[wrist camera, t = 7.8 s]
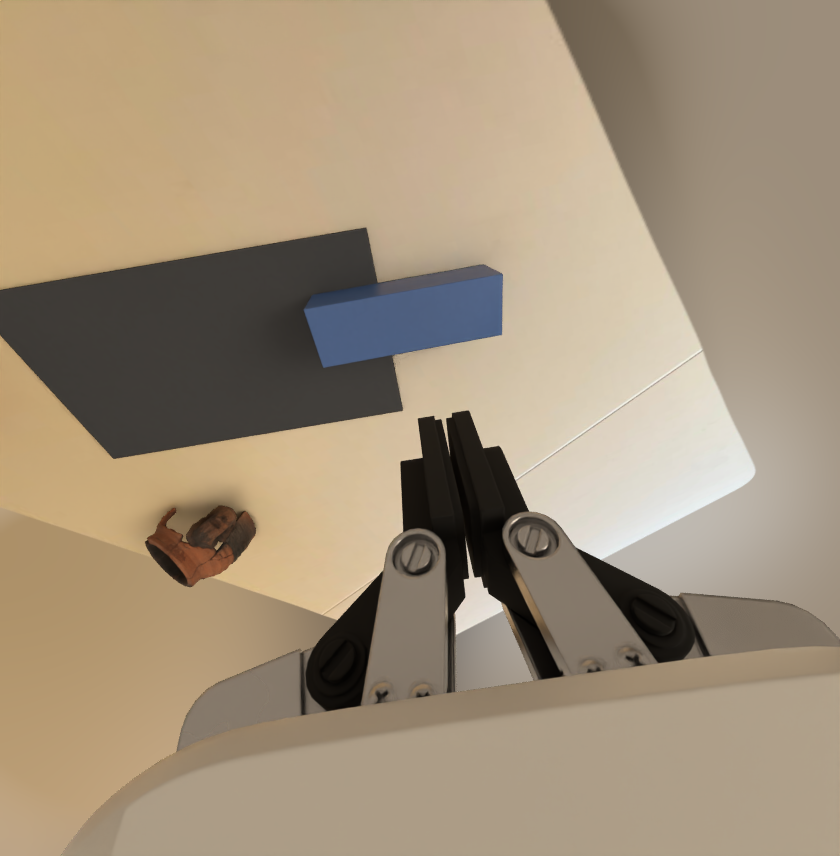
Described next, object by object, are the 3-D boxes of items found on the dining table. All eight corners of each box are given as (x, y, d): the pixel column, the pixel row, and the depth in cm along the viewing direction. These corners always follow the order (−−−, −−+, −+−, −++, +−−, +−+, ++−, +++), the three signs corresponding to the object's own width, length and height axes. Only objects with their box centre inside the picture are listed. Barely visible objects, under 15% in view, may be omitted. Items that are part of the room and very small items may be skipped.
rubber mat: (-30, 295, 24) (-36, 296, 24) (366, 227, 24) (366, 227, 24) (116, 456, 33) (113, 459, 33) (402, 408, 33) (402, 410, 33)
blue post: (484, 264, 26) (312, 294, 26) (502, 273, 22) (303, 309, 22) (485, 318, 29) (328, 347, 28) (502, 335, 25) (323, 368, 25)
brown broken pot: (252, 549, 45) (194, 602, 38) (201, 501, 44) (135, 547, 38) (275, 517, 37) (208, 577, 31) (215, 459, 37) (134, 507, 30)
